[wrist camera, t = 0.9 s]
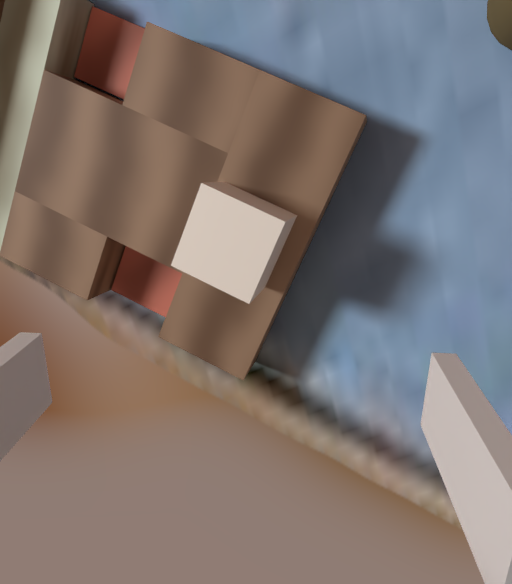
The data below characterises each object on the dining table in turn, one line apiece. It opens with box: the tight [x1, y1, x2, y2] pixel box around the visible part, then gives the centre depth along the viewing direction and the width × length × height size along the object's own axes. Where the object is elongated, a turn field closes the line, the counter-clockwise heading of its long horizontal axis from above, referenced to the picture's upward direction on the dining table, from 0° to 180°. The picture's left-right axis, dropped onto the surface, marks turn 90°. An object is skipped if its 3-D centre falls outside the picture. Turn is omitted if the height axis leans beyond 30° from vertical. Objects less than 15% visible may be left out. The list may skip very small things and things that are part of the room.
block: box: [171, 182, 297, 304], centre depth 33 cm, size 6×6×5 cm
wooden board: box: [0, 0, 367, 380], centre depth 37 cm, size 30×22×6 cm
